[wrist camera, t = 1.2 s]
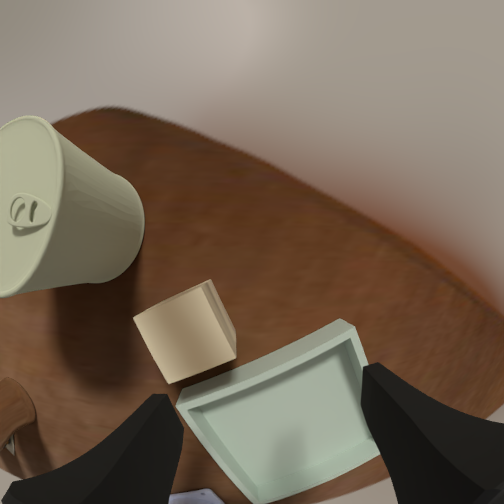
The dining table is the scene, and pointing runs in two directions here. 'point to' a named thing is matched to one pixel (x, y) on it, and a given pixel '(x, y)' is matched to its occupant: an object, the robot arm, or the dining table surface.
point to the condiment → (10, 445)
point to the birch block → (188, 332)
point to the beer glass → (13, 409)
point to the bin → (286, 415)
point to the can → (61, 212)
